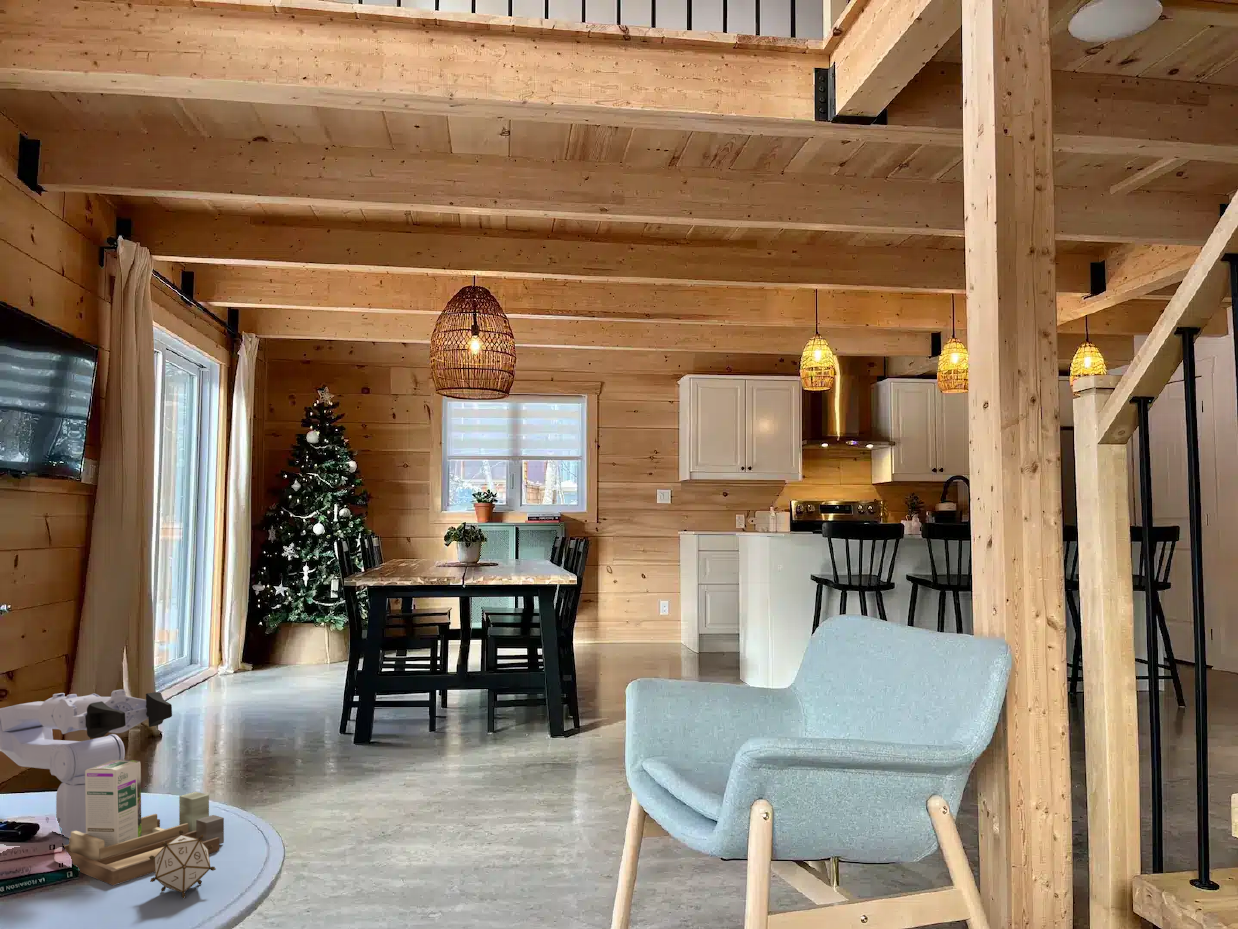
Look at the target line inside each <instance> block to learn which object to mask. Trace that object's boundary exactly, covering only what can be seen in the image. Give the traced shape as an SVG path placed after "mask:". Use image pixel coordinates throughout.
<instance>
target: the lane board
mask: <svg viewBox="0 0 1238 929" xmlns="http://www.w3.org/2000/svg"><path fill="white" fill-rule="evenodd" d="M157 827H159V828H161V819H159V818H157ZM182 835H185V836H189V837H193V838H196V830H195V831H192V832H189V833H185V834H182ZM177 837H178V836H176V837H172V838H169V839H166V840H162V841H166V842H167V844H168V843H169V842H171V841H172V840H174V839H175V838H177ZM162 841H159V842H156V843H152V844H149V845H146V846H143V847H139V848H136V849H133V850H129V851H126V852H123V853H120V854H116V855H113V856H110V857H106V858H103V859H100V860H96V861H95V860H92V859H89V858H87V857H84V856H82V855H79V854H77V853H74V852H71V851H69V843H68V844H64V845H63V846H64V848H65V850H66V851H67V852H68V853H69V854H70V856H71V859H72V861H73V863H74V865H77V866H78V867H79V869H80V872H79V873H82V874H84V875H86V876H89V877H91V878H94V879H96V880H98V881H102V882H104V883H106V884H109V885H111V886H115V885H118V884H122V883H125V882H128V881H131V880H134V879H137V878H139V877H143V876H147V875H149V874H152V873H155V864H154V859H153V860H152V859H151V860H150V859H146V860H143V861H140V862H137V863H134V864H131V865H127V866H124V867H121V868H118V869H115V868H113V867H110V866H108V865H107V864H110V863H113V862H116V861H119V860H123V859H126V858H129V857H132V856H136V855H139V854H142V853H145V852H149V851H152V850H155V849H158V848H162V847H164V846H163V845H162ZM203 844H204V845H205V846H206V847H207V848H208V846H210V845H211V846H212V849H210V850H208V852H209V855H210V854H212V853H216V852H219V851H220V844H219V838H218V837H216V838H213V839H210V840H207V841H203Z"/></svg>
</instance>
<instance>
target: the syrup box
mask: <svg viewBox="0 0 1238 929" xmlns="http://www.w3.org/2000/svg"><path fill="white" fill-rule="evenodd" d="M141 767H142V766H141V761H140V760H136V759H134V760H133V759H124V760H111V761H109V762H107V763H104V764H102V765H99V766H96V767H93V768H90V769H87V770H85V805H86V834H87V835H90V836H93V837H96V838H99V839H101V840H104V847H107V846H110V845H114V844H117V843H120V842H124V841H127V840H131V839H134V838H137V837H141V836H142V832H141V818H142V783H141V782H142V773H141V770H142V769H141Z"/></svg>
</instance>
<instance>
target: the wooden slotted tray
mask: <svg viewBox="0 0 1238 929" xmlns="http://www.w3.org/2000/svg"><path fill="white" fill-rule="evenodd" d="M178 799H179V800H178V801H179V806H178V807H179V809H178V811H179V814H178V815H179V818H178V819H179V821H178V822H179V825H175V826H172V827H168V828H162V827H160V828H159V827H157V819H158V814H157V813H153V814H150V815H146V816H143V817H142V816H141V832H142V836H141V837H137V838H134V839H131V840H127V841H124V842H120V843H117V844H114V845H110V846H107V847H104V840H101V839H99V838H96V837H93V836H90V835H87V834H86V833H82V832H79V831H73V832H71V837H70V838H68V844H69V851H71V852H74V853H77V854H79V855H82V856H84V857H87V858H89V859H92V860H95V861H96V860H100V859H103V858H106V857H110V856H113V855H116V854H120V853H123V852H126V851H129V850H133V849H136V848H139V847H143V846H146V845H149V844H152V843H156V842H159V841H162V840H166V839H169V838H172V837H176V836H179V835H180V834H179V831H180V829H181V830H182V831H183V834H185V833H189V832H192V831H195V830H196V820H198V819H201V818H204V817H208V816H210V794H207V793H202V792H199V791H194V792H193V791H192V792H188V793H185V794H181V795H179V798H178Z"/></svg>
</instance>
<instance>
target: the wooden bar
mask: <svg viewBox="0 0 1238 929" xmlns="http://www.w3.org/2000/svg"><path fill="white" fill-rule="evenodd" d="M224 820H225V818H224V817H222V816H219V815H216V814H211V815H209V816H208V817H204V818H201V819H198V820H196V838H197V839H199V837H200V835H203V838H202V839H201V841H202V842H203V841H207V840H210V839H213V838H216V837H218V838H219V845H222V844H224V843H225V836H224V835H225V833H224V832H225V828H224V827H225V826H224V825H225V823H224V822H225V821H224ZM162 848H163V847H162ZM162 848H158V849H155V850H152V851H149V852H145V853H142V854H139V855H136V856H132V857H129V858H126V859H123V860H119V861H116V862H113V863H110V864H107V865H108V866H110V867H113V868H115V869H118V868H121V867H124V866H127V865H131V864H134V863H137V862H140V861H143V860H146V859H150V858H149V857H150V856H151V855H152V856H154V857H155V856H156V855H157V854H158V853H159V852H160V851H161V850H162Z"/></svg>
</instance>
